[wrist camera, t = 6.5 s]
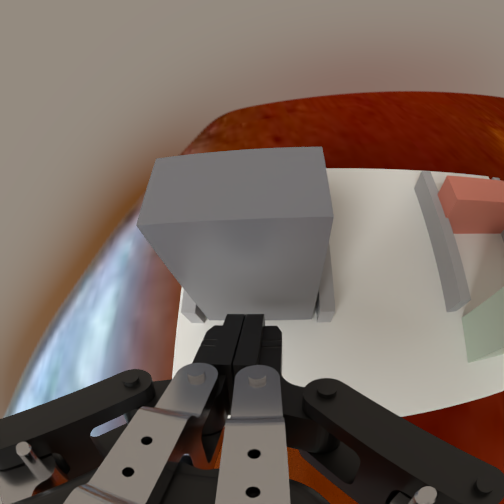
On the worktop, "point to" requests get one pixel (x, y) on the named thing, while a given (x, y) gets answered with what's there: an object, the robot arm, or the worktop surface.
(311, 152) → the grey upright block
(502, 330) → the pale green tall block
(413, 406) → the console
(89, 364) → the worktop surface
